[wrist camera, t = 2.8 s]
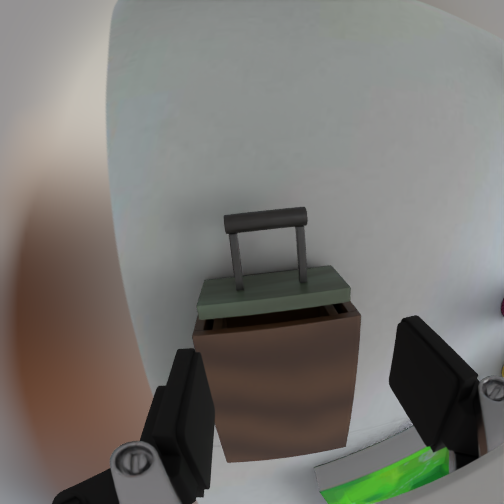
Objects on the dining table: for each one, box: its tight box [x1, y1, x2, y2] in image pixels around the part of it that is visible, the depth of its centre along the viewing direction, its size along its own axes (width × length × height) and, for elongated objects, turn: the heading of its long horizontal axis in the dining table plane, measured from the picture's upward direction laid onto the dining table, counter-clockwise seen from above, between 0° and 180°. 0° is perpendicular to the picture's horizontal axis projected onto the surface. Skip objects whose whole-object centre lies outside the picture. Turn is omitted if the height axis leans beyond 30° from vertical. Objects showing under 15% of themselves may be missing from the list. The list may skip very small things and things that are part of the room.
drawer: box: [197, 207, 351, 330], centre depth 25 cm, size 21×11×5 cm, turn 6°
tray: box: [314, 426, 449, 504], centre depth 36 cm, size 25×25×5 cm
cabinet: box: [192, 301, 361, 463], centre depth 27 cm, size 17×13×7 cm
